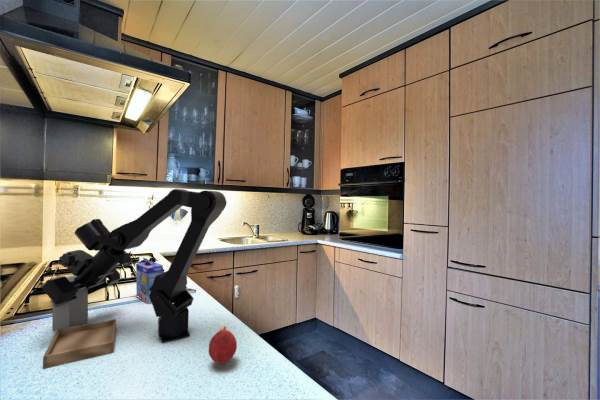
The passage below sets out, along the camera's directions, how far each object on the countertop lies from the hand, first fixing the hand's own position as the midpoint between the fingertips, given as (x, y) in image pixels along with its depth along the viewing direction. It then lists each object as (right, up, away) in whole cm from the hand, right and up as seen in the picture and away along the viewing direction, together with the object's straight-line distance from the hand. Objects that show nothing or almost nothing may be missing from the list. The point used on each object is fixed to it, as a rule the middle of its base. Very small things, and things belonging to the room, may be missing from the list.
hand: (66, 301), depth 76 cm
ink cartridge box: (+11, -7, +21) cm, 25 cm away
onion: (+47, -7, -17) cm, 51 cm away
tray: (+13, -7, -10) cm, 17 cm away
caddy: (+1, -7, 0) cm, 7 cm away
